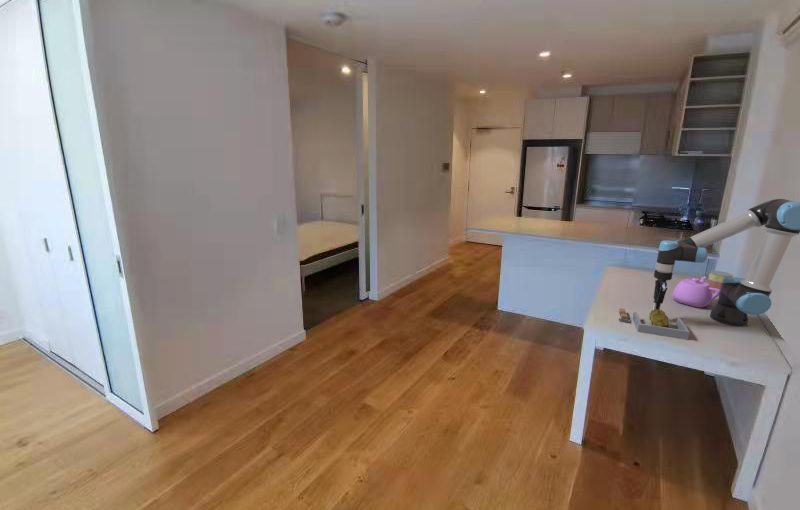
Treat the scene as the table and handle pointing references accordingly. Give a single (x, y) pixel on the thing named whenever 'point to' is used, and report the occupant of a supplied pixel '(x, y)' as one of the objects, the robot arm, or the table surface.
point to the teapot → (694, 292)
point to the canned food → (717, 279)
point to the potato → (659, 318)
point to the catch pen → (662, 329)
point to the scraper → (623, 316)
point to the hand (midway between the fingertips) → (655, 313)
